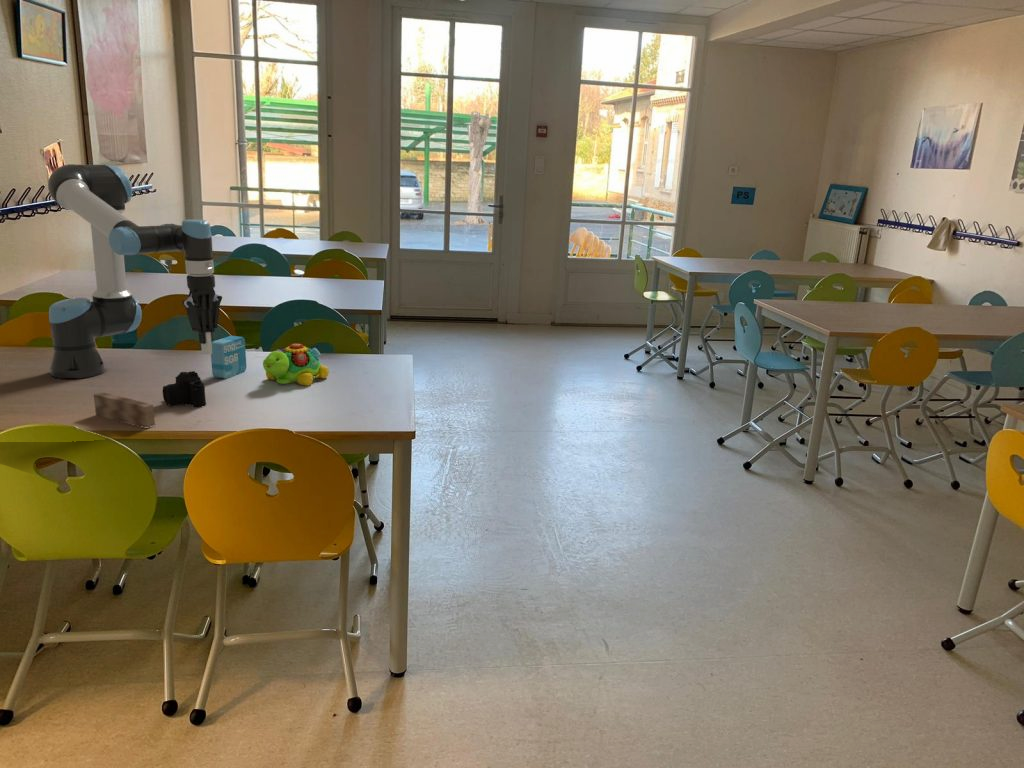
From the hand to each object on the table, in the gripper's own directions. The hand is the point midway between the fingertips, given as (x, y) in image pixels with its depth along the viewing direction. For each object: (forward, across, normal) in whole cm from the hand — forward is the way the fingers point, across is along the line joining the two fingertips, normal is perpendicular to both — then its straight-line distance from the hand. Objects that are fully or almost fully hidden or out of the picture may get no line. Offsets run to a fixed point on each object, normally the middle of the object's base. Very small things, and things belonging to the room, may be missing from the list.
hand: (207, 353), depth 222 cm
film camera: (+13, -10, 0) cm, 16 cm away
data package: (+13, +18, +10) cm, 24 cm away
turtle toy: (+13, +24, -11) cm, 29 cm away
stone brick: (+13, -29, 0) cm, 32 cm away
